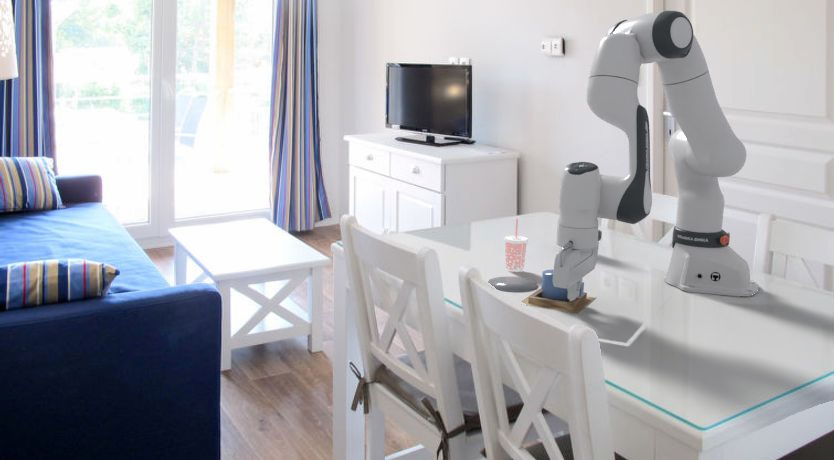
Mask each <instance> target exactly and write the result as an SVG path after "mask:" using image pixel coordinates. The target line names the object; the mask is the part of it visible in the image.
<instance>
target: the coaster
mask: <svg viewBox="0 0 834 460" xmlns="http://www.w3.org/2000/svg"><path fill="white" fill-rule="evenodd" d="M487 282H488V283H490V284H491V285H492V286H494V287H495V288H496V289H495V290H497V289H498V290H497V291H502V292H509V293H510V292H511V293H521V292H530V291H533V290H536V289H537V287H538V283H537V282H536V281H535V280H533V279H531V278H525V277H521V276H520V277H519V276H497V277H492V278H491V279H490V278H489V280H488V281H487ZM488 283H487V284H488Z"/></svg>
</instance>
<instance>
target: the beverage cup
mask: <svg viewBox="0 0 834 460" xmlns="http://www.w3.org/2000/svg"><path fill="white" fill-rule="evenodd" d="M518 223H519V219H518V218H516V219H515V235H507V236H506V235H505V236H504V242H505V244H504V245H505V270H506V271H509V272H514V273H515V272H516V273H519V272H524V270H525V269H524V268H525V260H526V251H527V245H528V241H529V238H528V237H526V236H522V235H518V226H519V224H518Z"/></svg>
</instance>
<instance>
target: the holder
mask: <svg viewBox="0 0 834 460" xmlns="http://www.w3.org/2000/svg"><path fill="white" fill-rule="evenodd" d="M541 291H542V287H540V288H539V289H537V290H536V291H534V292H533V293H531V294H530V295H529V296H527V297H526V298H524V299H523V300H521V301H520V302H523V303H525V304H526V305H525V306H528V305H529V306H528V307H534V308H539V309H540V308H541V309H546V310H553V311H558V312H564V313H565V312H566V313H570V314H571V313H572V314H576V315H578V314H579V313H580V312H581V311H583V310H584V309H585V308H586V307H587V306H589V305H590V304H591V303H592V302H593V301H594V300H596V299H597V297H593V296H588V293H587V292H583V296H581V297H579V296H578V297H577V298H576V299H575V300H571V299H570V300H569V302H564V301H558V300H552V299H546V298H541Z"/></svg>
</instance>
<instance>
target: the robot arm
mask: <svg viewBox="0 0 834 460" xmlns="http://www.w3.org/2000/svg"><path fill="white" fill-rule="evenodd" d="M652 63H656V64H657V66H658V72H659V78H660V82H661V86H662V88H663V93H664V96H665V100H666V102H667V106H668V111H669V113H670V115H671V117H672V118H673V119H674V120H675V121H676V123H677V124H678V126H679V129H677V130H676V131H675V132H674V133H673V134H672V135H671V137H670V138H669V140H668V145H667V151H668V154H669V157H670V159H671V160H672V163H673V168H674V174H675V180H676V183H675V184H676V186H677V187H676V190H677V207H676V220H675V226H673V231H672V235H671V236H672V239H671V244H672V245H671V248H672V251H671V257H670V261H669V265H668V268H667V271H666V273H665V277H664V279H663V280H664V281H665V283H667V284H669V285H671V286H674V287H677V288H678V289H679V290H681V291H684V292H689V293H690V292H691V293H701V294H708V295H709V294H711V295H712V294H713V295H722V296H730V297H732V296H733V297H740V296H748V297H751V296H750V295H752V294H754V293H756V292H757V290H758V291H759V289H758V288H759V283H758V282H757V281H755V280H751V272H750V267H749V266H750V265H749V263H748V261H746V259H744V258H743V257H742V256H741V255H739V254H738V253H737V252H736V251H735V250H734V249H733V248H732V247H730V239H731V238H730V237H731V236H730V235H731V233H730V232H726V231H725V230H724V229H723V220H724V212H725V211H724V210H725V196H724V194H723V192H722V191H721V188H720V185H719V178H727V177H732V176H734V175H736V174H738V173H740V171H741V170H742V169H743V167H744V165H745V163H746V160H747V149H746V147H745V145H744V143H743V142H742V141H741V140H740V139H739V138H738V136H737V135H736V134H735V132H734V131H733V129H732V127H731V125H730V123H729V122H728V120H727V117H726V116H725V114H724V112H723V110H722V108H721V106H720V104H719V101H718V98H717V95H716V92H715V88H714V85H713V81H712V78H711V75H710V71H709V67H708V64H707V61H706V57H705V55H704V52H703V50H702V47H701V45H700V44H699V42H698V39H697V38H696V35H694V28H693V25H692V23H691V21H690V19H689V18H688V17H687V16H686V14H684V13H683V12H681V11H677V10H664V11H661V12H652V13H651V12H650V13H643V14H642V15H639V16H636V17H632V18H629V19H623V20H621V21H619V22H617V23H615V24H614V25H612V26H611V27H610V28H609V30H608V31H607V33H606V35H605V36H604V37H602V39H601V40H600V41H599V43H598V45H597V48H596V51H595V54H594V56H593V60H592V64H591V67H590V71H589V77H588V80H587V81H588V82H587V89H586V103H587V105H588V107H589V109H590V111H591V112H592V113H593V114H594V115H595V116H596V117H598V118H599V119H600V120H602V121H603V122H606V123H607V124H609V125H611V126H614V127H615V128H618V129H620V130H622V132H624V133H625V135H626V137H627V138H628V175H626V176H615V175H608V174H607V175H604V174H601V173H600V168H599V166H598V165H597V164H595V163H594V162H587V161H578V162H572V163H569V164H567V165H566V166H564V169H563V171H562V175H561V181H560V183H559V194H558V207H559V216H558V218H557V223H556V224H557V225H556V245H557V246H559V247H561V249H560V250H559V251H557V253H556V254H555V258H554V263H553V269H552V270H553V285H554V287H559V288H566V289H567V291H568V299H571V300H575V299H576V298H577V297H578V296H579V292H580V287H581V284H582V282H583V278H584V277H585V276H587V275H588V274H590V273H591V272H592V271H594V269H595V268H596V265H597V263H598V262H597V260H598V256H599V255H598V254H599V244H600V243H599V242H600V241H601V240H602V236H603V234H602V233H603V232H602V230H601V229H599V219H606V220H612V221H613V220H614V221H618V222H622V223H627V224H629V225H630V224H631V225H635V224H638V223H639V222H641V221H643V220H644V219H646V218H647V217H648V216H649V215H650V213H651V211H652V204H653V195H652V184H651V183H652V182H651V181H652V180H651V147H650V146H651V141H650V140H651V135H650V133H651V132H650V131H651V130H650V119H649V116H648V115H649V114H648V110H647V108H645V107H644V106H643V105H641V103H640V101H639V100H640V99H639V96H638V88H639V81H640V74H641V73H640V72H641V66H642V65H645V64H646V65H647V64H652ZM598 218H599V219H598ZM757 293H758V292H757ZM757 293H756V294H757ZM752 296H753V295H752Z"/></svg>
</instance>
